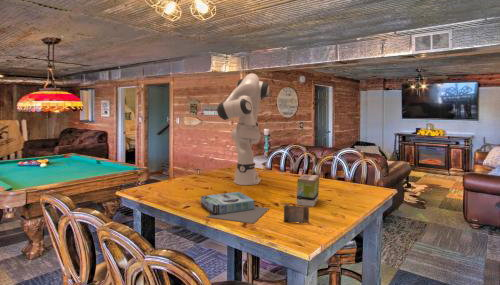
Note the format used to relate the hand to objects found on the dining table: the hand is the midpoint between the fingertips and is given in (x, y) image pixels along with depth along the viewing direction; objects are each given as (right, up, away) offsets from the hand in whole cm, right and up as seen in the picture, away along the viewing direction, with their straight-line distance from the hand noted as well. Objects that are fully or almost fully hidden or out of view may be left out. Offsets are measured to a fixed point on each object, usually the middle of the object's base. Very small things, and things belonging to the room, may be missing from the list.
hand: (249, 147), depth 191 cm
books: (+22, -35, -38) cm, 56 cm away
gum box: (-1, -29, -12) cm, 31 cm away
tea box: (+33, -31, -6) cm, 46 cm away
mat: (-5, -33, -25) cm, 42 cm away
